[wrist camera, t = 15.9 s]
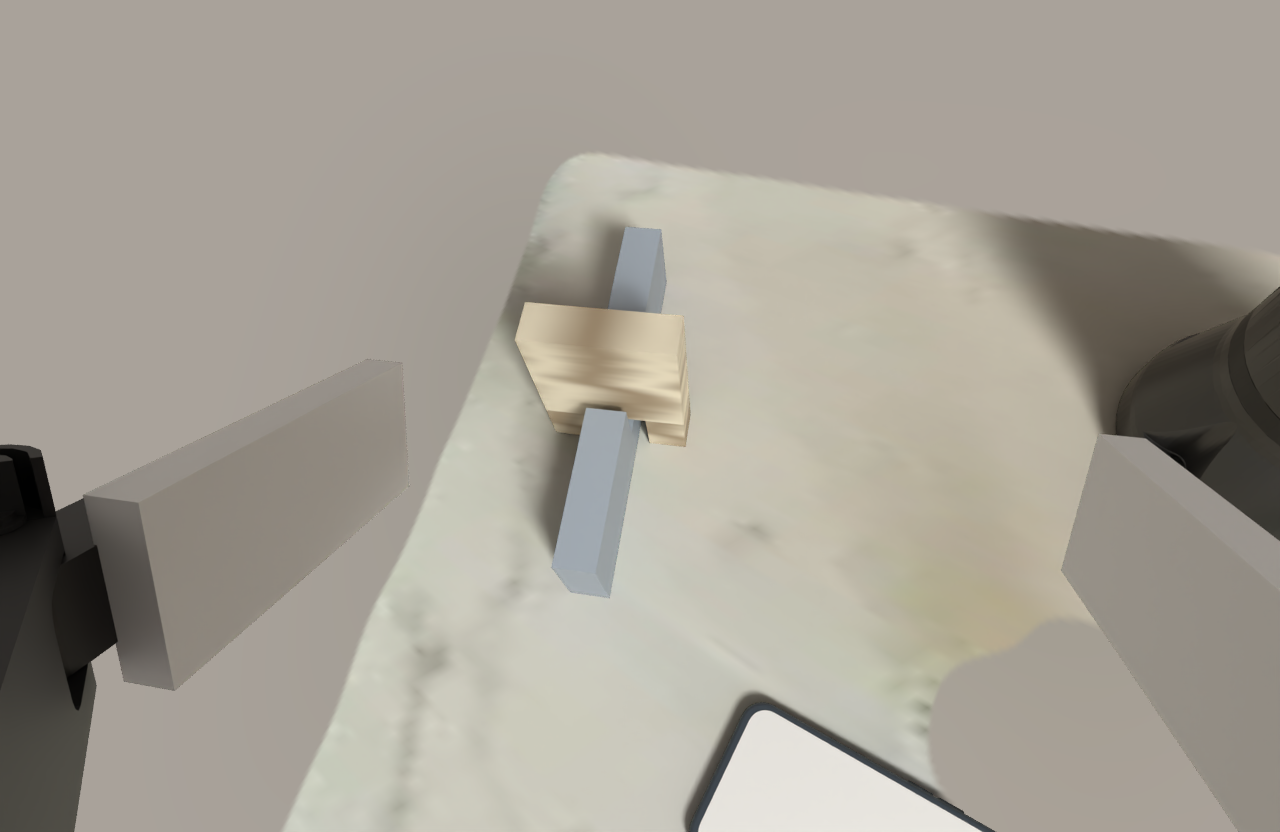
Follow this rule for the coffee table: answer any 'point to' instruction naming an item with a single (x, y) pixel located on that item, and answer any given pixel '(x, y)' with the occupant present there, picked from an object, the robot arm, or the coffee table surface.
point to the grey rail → (608, 440)
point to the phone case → (812, 786)
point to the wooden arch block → (608, 366)
